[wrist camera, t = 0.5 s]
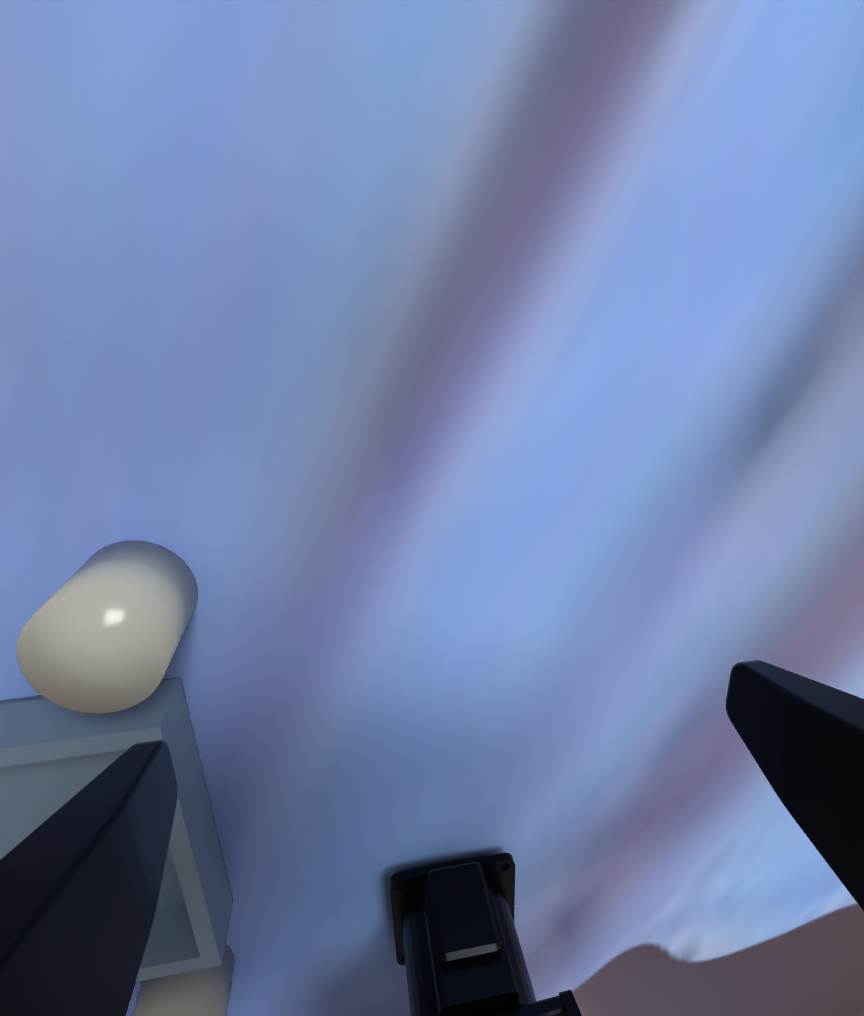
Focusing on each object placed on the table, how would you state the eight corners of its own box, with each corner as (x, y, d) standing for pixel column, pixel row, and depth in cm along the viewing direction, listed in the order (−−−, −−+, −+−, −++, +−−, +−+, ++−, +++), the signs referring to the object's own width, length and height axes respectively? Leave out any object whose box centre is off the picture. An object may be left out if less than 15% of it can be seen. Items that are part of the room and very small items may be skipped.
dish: (232, 900, 28) (221, 965, 25) (-64, 954, 26) (-111, 1030, 24) (180, 677, 24) (159, 727, 21) (-184, 724, 22) (-260, 785, 19)
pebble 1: (206, 632, 23) (178, 703, 19) (94, 645, 23) (38, 722, 18) (186, 535, 22) (150, 589, 17) (65, 546, 21) (-2, 605, 17)
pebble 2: (240, 982, 30) (225, 1089, 26) (156, 999, 30) (126, 1112, 26) (227, 927, 29) (209, 1032, 25) (138, 944, 28) (103, 1054, 24)
